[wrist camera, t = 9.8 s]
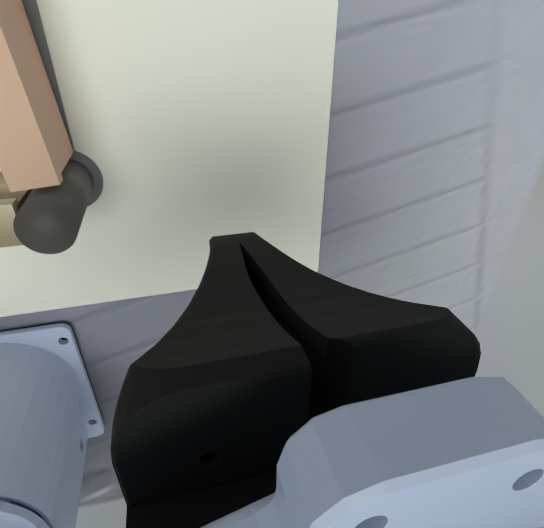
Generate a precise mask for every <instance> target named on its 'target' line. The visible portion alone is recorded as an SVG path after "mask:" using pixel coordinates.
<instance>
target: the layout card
mask: <svg viewBox="0 0 544 528" xmlns="http://www.w3.org/2000/svg"><path fill="white" fill-rule="evenodd" d="M22 3H23V6H24V9H25V12H26V14H27V17H28V20H29V23H30V26H31V29H32V32H33V35H34V38H35V41H36V44H37V47H38V50H39V52H40V55H41V58H42V61H43V64H44V67H45V70H46V73H47V76H48V79H49V82H50V85H51V88H52V90H53V93H54V96H55V99H56V102H57V105H58V108H59V111H60V114H61V117H62V120H63V123H64V125H65V128H66V131H67V134H68V137H69V140H70V143H71V146H72V149H73V153H72V155H71V157H70V159H72V160H75V161H78V162H80V163H82V164H83V165H84V166H86V167H87V168H88V169H89V171H90V172H91V174H92V176H93V180H94V186H93V190H92V193H91V196H90V199H89V202H88V205H87V208H86V211H85V214H84V217H83V220H82V223H81V226H80V229H79V232H78V235H77V238H76V241H75V243H74V244H73V245H72V246H71V247H70V248H69V249H67V250H66V251H64V252H61V253H57V254H42V253H38V252H35V251H33V250H31V249H29V248H27V247H26V246H24V245H20V246H10V247H1V248H0V317H4V316H11V315H18V314H25V313H32V312H40V311H47V310H54V309H61V308H68V307H75V306H82V305H89V304H96V303H103V302H110V301H117V300H124V299H131V298H138V297H145V296H152V295H159V294H166V293H173V292H180V291H187V290H194V289H198V287H199V284H200V282H201V280H202V277H203V275H204V272H205V269H206V266H207V262H208V259H209V254H210V245H209V240H210V239H211V238H212V237H213V236H222V235H230V234H239V233H248V232H254V233H256V234H257V235H259V236H260V237H262V238H263V239H264V240H266V241H267V242H269V243H270V244H271V245H273V246H274V247H276V248H277V249H279V250H280V251H281V252H283V253H284V254H286V255H288V256H289V257H291V258H292V259H294V260H296V261H297V262H299V263H301V264H302V265H304V266H306V267H308V268H310V269H311V270H313V271H315V272H318V264H319V251H320V238H321V224H322V211H323V198H324V184H325V171H326V158H327V144H328V131H329V118H330V104H331V91H332V78H333V64H334V51H335V38H336V24H337V11H338V0H22ZM0 172H1V170H0Z"/></svg>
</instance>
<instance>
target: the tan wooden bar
mask: <svg viewBox="0 0 544 528" xmlns="http://www.w3.org/2000/svg"><path fill="white" fill-rule="evenodd" d="M72 153H73V149H72V146H71V143H70V140H69V137H68V134H67V131H66V128H65V125H64V123H63V120H62V117H61V114H60V111H59V108H58V105H57V102H56V99H55V96H54V93H53V90H52V88H51V85H50V82H49V79H48V76H47V73H46V70H45V67H44V64H43V61H42V58H41V55H40V52H39V50H38V47H37V44H36V41H35V38H34V35H33V32H32V29H31V26H30V23H29V20H28V17H27V14H26V12H25V9H24V6H23V3H22V0H0V170H1V172H2V174H3V176H4V178H5V181H6V183H7V185H8V187H9V189H10V192H16V191H22V190H29V189H36V188H42V187H49V186H55V185H60V184H61V182H62V180H63V177H62V174H61V173H62V171H63V169H64V167H65V166H66V164H67V162H68V160H69V159H70V157H71V155H72Z"/></svg>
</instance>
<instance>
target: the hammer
mask: <svg viewBox="0 0 544 528" xmlns="http://www.w3.org/2000/svg"><path fill="white" fill-rule="evenodd" d="M61 174H62V177H63V180H62V182H61V184H60V185H55V186H49V187H42V188H36V189H29V190H22V191H16V192H10V189H9V187H8V185H7V183H6V181H5V178H4V176H3V174H2V172H0V248H1V247H10V246H20V245H24V246H26V247H27V248H29V249H31V250H33V251H35V252H38V253H42V254H57V253H61V252H64V251H66V250H67V249H69V248H70V247H71V246H72V245H73V244H74V243H75V241H76V238H77V235H78V232H79V229H80V226H81V223H82V220H83V217H84V214H85V211H86V208H87V205H88V202H89V199H90V196H91V193H92V190H93V186H94V180H93V176H92V174H91V172H90V171H89V169H88V168H87V167H86V166H84V165H83V164H82V163H80V162H78V161H75V160H72V159H69V160H68V162H67V164H66V166H65V167H64V169H63V171H62V173H61Z"/></svg>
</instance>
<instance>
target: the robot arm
mask: <svg viewBox="0 0 544 528" xmlns="http://www.w3.org/2000/svg"><path fill="white" fill-rule="evenodd" d="M209 245H210V254H209V259H208V262H207V266H206V269H205V272H204V275H203V277H202V280H201V282H200V284H199V287H198V289H197V291H196V293H195V295H194V297H193V298H192V300H191V302H190V303H189V305H188V307H187V308H186V310H185V311H184V312H183V314H182V315H181V317H180V318H179V319H178V321H177V322H176V323H175V325H174V326H173V327H172V328H171V329H170V330H169V331H168V332H167V333H166V335H165V336H164V337H163V338H162V339H161V340H160V341H159V342H158V343H157V344H156V345H155V346H154V347H152V348H151V349H150V350H149V351H147V352H146V353H145V354H144V355H143V356H141V357H140V358H139V359H138V360H136V361H135V362H134V363H132V364H131V365H130V367H129V369H128V372H127V375H126V377H125V380H124V383H123V386H122V389H121V392H120V395H119V399H118V402H117V407H116V411H115V415H114V420H113V429H112V440H111V457H112V464H113V467H114V470H115V473H116V476H117V478H118V481H119V484H120V487H121V490H122V493H123V496H124V498H125V501H126V504H127V517H126V528H544V417H543V416H542V415H541V414H540V413H539V412H538V411H537V410H536V409H535V408H534V407H533V406H532V405H531V404H530V403H529V402H528V401H527V400H526V399H525V398H524V397H523V396H522V394H521V393H520V392H519V391H518V390H517V389H516V388H514V386H512V385H511V384H510V383H509V382H508V381H507V380H506V379H505V378H504V377H475V374H476V371H477V368H478V364H479V359H480V355H481V352H480V343H479V342H478V340H477V338H476V337H475V335H474V334H473V333H472V332H471V331H470V330H469V329H468V328H467V327H466V326H465V325H464V324H463V323H462V322H461V321H460V320H459V319H458V318H457V317H456V316H455V315H454V314H453V313H452V312H451V311H450V310H449V309H448V308H444V307H438V306H431V305H425V304H418V303H411V302H406V301H401V300H397V299H392V298H388V297H384V296H380V295H376V294H373V293H369V292H366V291H363V290H360V289H357V288H354V287H351V286H348V285H345V284H342V283H340V282H337V281H335V280H333V279H330V278H328V277H326V276H324V275H321V274H319V273H317V272H315V271H313V270H311V269H310V268H308V267H306V266H304V265H302V264H301V263H299V262H297V261H296V260H294V259H292V258H291V257H289V256H288V255H286V254H284V253H283V252H281V251H280V250H279V249H277V248H276V247H274V246H273V245H271V244H270V243H269V242H267V241H266V240H264V239H263V238H262V237H260V236H259V235H257V234H256V233H254V232H248V233H239V234H230V235H222V236H213V237H212V238H211V239H210V240H209ZM60 338H67V340H62V339H60ZM104 428H105V426H104V423H103V420H102V417H101V414H100V411H99V408H98V405H97V402H96V399H95V396H94V393H93V390H92V387H91V385H90V382H89V379H88V376H87V373H86V370H85V367H84V364H83V361H82V358H81V355H80V352H79V349H78V346H77V343H76V340H75V337H74V334H73V331H72V329H71V327H70V326H69V325H67V324H64V323H58V324H51V325H45V326H38V327H31V328H25V329H18V330H11V331H4V332H0V528H75V524H76V519H77V512H78V505H79V498H80V491H81V484H82V478H83V471H84V464H85V457H86V450H87V443H88V438H92V437H97V436H100V435H102V434H103V433H104Z"/></svg>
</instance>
